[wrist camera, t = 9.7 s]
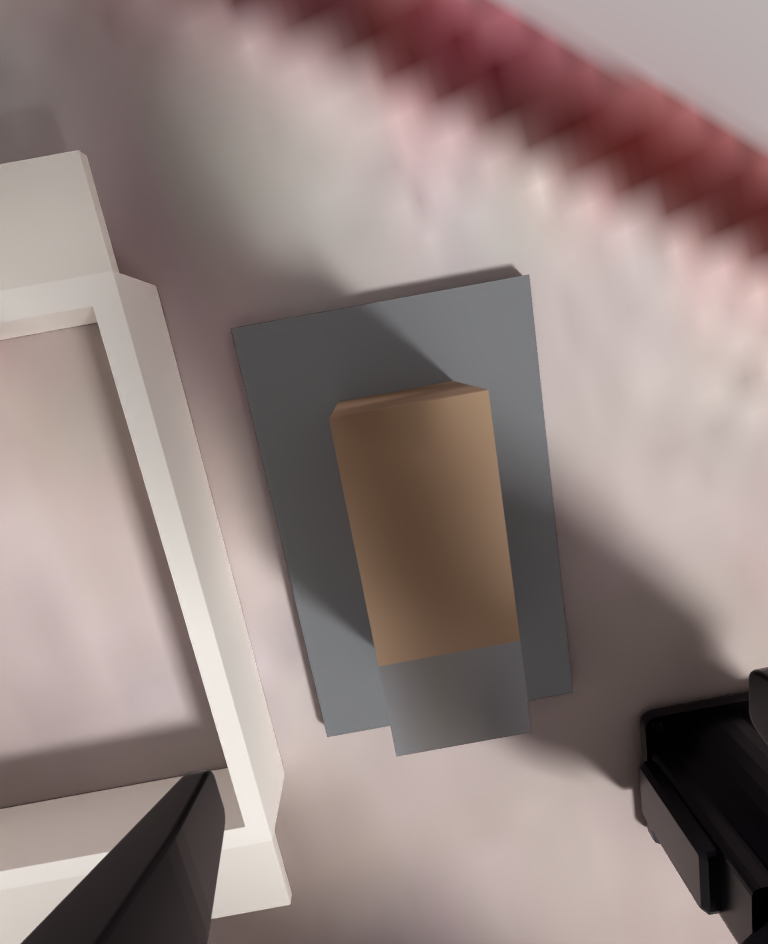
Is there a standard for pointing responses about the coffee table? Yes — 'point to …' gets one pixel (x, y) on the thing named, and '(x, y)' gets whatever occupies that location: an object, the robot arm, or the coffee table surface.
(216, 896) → the white rectangular frame
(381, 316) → the charcoal mat
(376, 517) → the box
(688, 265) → the coffee table surface
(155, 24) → the coffee table surface
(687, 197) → the coffee table surface
